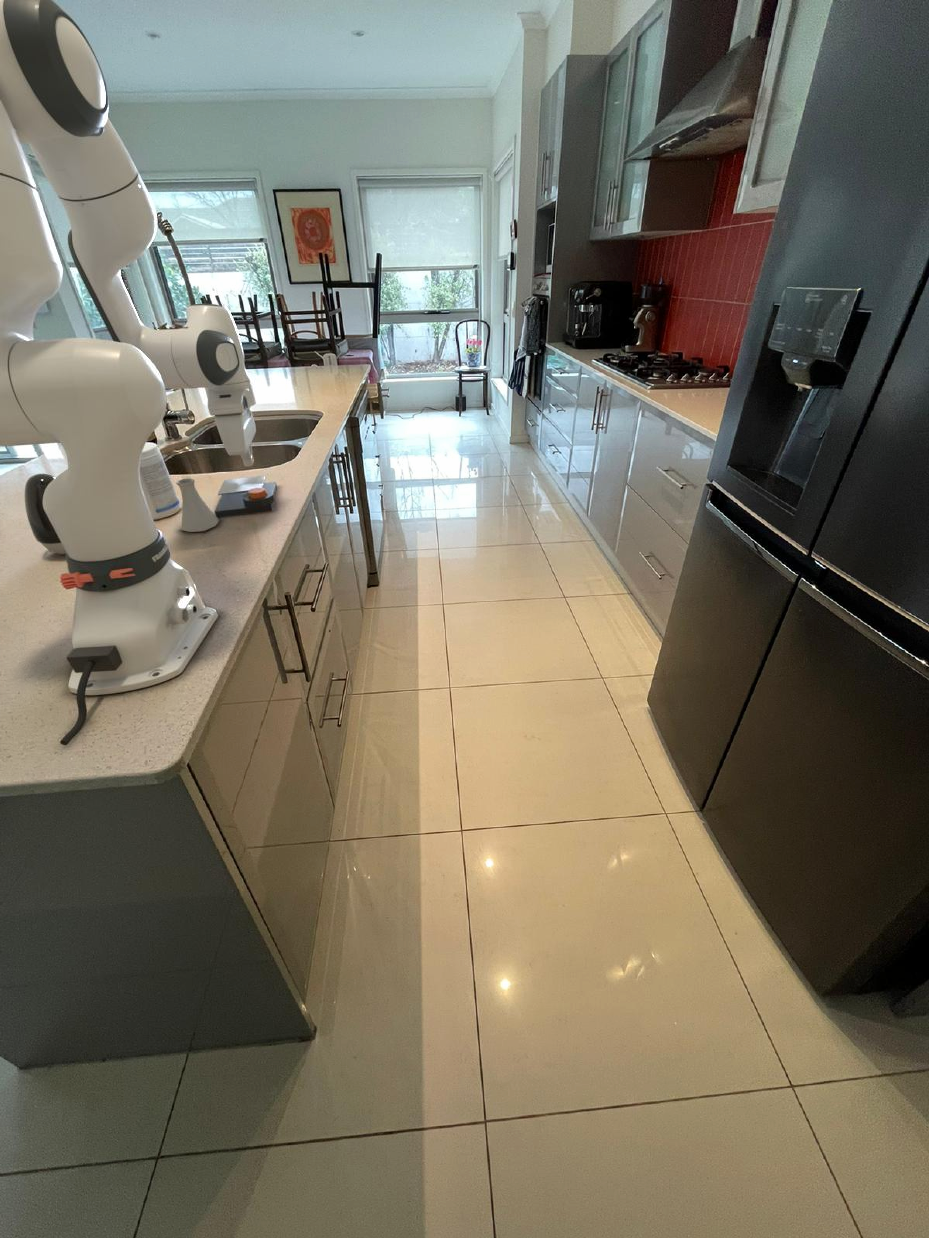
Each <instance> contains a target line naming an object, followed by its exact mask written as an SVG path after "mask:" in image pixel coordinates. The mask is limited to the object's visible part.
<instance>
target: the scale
mask: <svg viewBox="0 0 929 1238" xmlns="http://www.w3.org/2000/svg"><path fill="white" fill-rule="evenodd" d="M263 488H264V489H265V491H266V495H267V496H265V497H263V498H259V499H250V496H249V492H244V493H235V494H226V495H220V498H219V501H218V502H217V505H216V508H215V509H214V515H215V516H216V517H217V518H224V517H233V516H240V515H248V514H257V513H266V512H267V513H268V512H273V509H274V503H275V501H276V500H275V499H276V495H277V489H278V485H277V482H276V481H270V482H264V485H263Z"/></svg>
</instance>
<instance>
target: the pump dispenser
mask: <svg viewBox="0 0 929 1238" xmlns="http://www.w3.org/2000/svg"><path fill="white" fill-rule="evenodd" d="M55 478H56V477H55V476H53V475H51V474H48V473H37V474H36V473H35V474H33V475H31V476H29V478H28V479H27V481H26V482H25V486H24V507H25V511H26V512H25V513H26V517H27V521H28V523H29V527H30V530H31V532H32V534H33V536H34V538H35V540H36V541H37V542H38V543H40V544H41V545H42V546H43V547H44V548H45V549H47V550H48V551H49V552H52V553H55V554H57V555H58V554H59V555H66V553H67V552H66V550H65V548H64V547H63V545H62V543H61V541H60V539H59V537H58V535H57V533H56V531H55V529H54V528H53V526H52V524H51V522H50V520H49V518H48V516H47V514H46V512H45V510H44V508H43V495H44V492H45V489H46V487H47V486H48V485H49V483H50V482H51V481H52V480H54V479H55Z"/></svg>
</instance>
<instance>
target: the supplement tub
mask: <svg viewBox="0 0 929 1238" xmlns="http://www.w3.org/2000/svg"><path fill="white" fill-rule="evenodd" d="M140 480H141V485H142V488H143V492H144V495H145V498H146V501H147V504H148V507H149V510H150V513H151V516H152V518H153V521H155V520H161V519H163V518H168V517H171V516H173V515H175V514H177V513H178V512H179V511H180V510H181V508H182V505H181V501H180V498H179V496H178V493H177V491H176V489H175V486H174V483H173V481H172V478H171V475H170V473H169V470H168V467H167V465H166V463H165V460H164V458H163V455H162V452H161V451H160V449H159V447H158V445H157V444H156V443H154V442H148V441H147V442H146V443H145V446H144V448H143V451H142V455H141V460H140Z"/></svg>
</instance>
